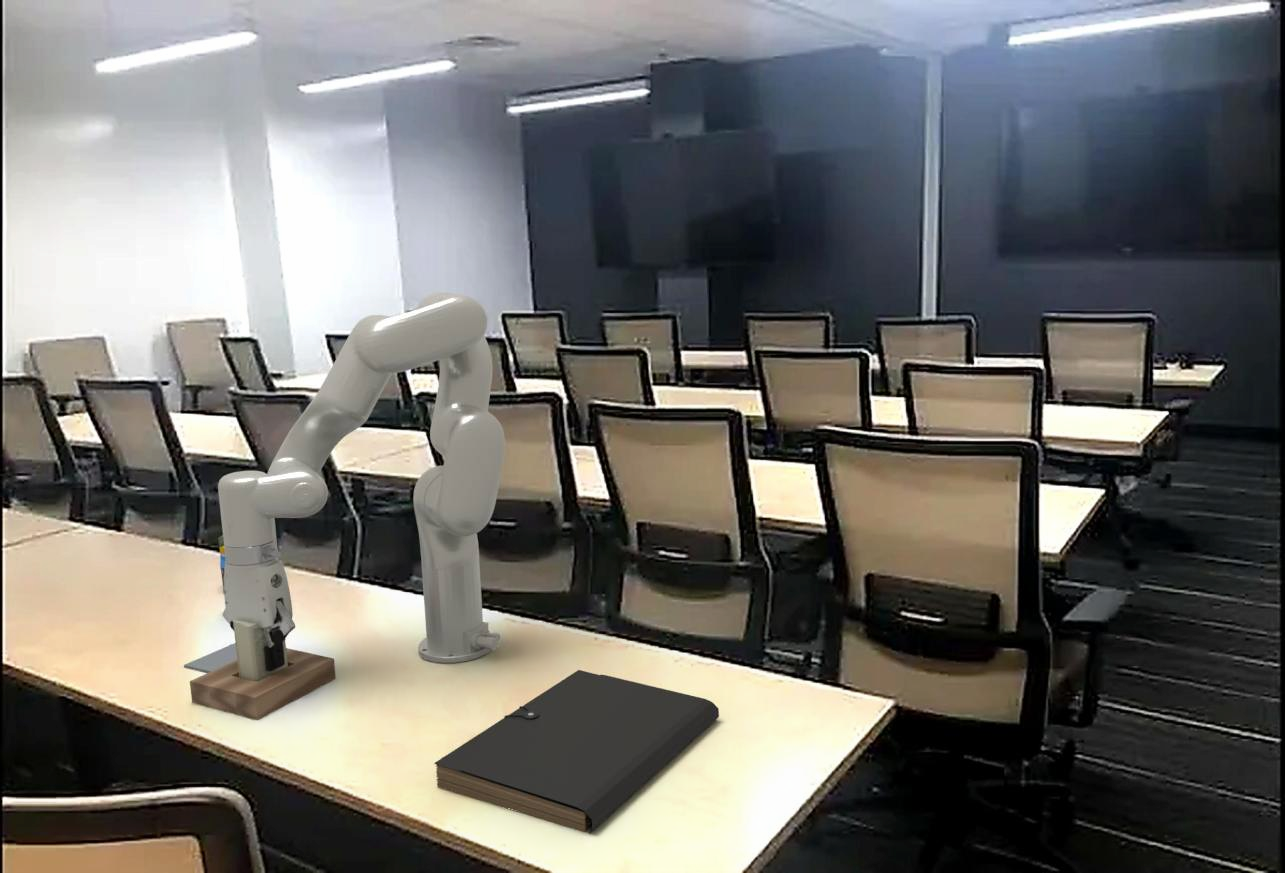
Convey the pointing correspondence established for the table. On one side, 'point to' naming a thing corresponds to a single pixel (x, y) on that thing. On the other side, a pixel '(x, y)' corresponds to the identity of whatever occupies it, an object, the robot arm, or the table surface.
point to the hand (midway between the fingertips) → (262, 664)
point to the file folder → (577, 748)
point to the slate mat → (214, 659)
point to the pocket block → (262, 685)
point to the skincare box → (253, 651)
